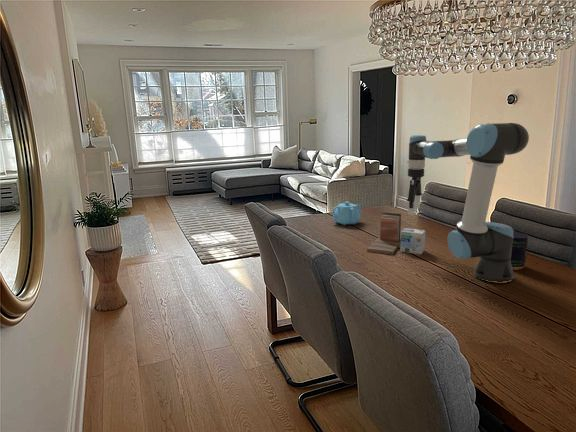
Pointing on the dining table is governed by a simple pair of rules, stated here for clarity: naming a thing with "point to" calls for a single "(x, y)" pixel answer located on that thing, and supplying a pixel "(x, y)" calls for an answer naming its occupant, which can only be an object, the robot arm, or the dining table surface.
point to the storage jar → (519, 249)
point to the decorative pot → (346, 213)
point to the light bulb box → (412, 241)
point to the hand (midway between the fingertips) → (413, 211)
